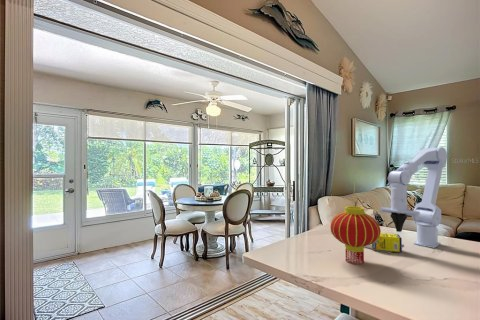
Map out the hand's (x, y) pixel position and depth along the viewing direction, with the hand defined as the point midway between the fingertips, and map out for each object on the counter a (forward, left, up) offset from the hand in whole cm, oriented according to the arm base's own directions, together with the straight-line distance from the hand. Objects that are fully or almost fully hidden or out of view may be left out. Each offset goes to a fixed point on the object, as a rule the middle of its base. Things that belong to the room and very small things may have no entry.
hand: (399, 231), depth 112 cm
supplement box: (+1, +1, -4) cm, 5 cm away
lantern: (+27, -6, -8) cm, 29 cm away
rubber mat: (0, -8, -8) cm, 12 cm away
